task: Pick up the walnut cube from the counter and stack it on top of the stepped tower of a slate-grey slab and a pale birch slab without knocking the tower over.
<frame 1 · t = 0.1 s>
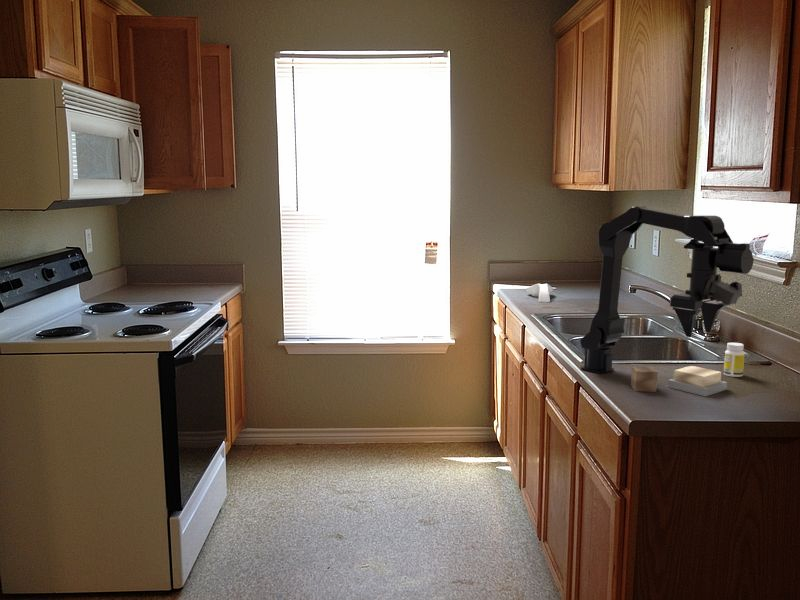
hand: (698, 334, 182), 15 cm above the worktop, fingers open, 9 cm apart
spoon rest: (541, 298, 328), on the worktop
birch top block: (696, 380, 189), point 2 cm above the worktop, touching grey base block
supplement bottle: (732, 375, 202), on the worktop
walnut cube: (643, 388, 188), on the worktop
grey base block: (696, 390, 189), on the worktop, touching birch top block
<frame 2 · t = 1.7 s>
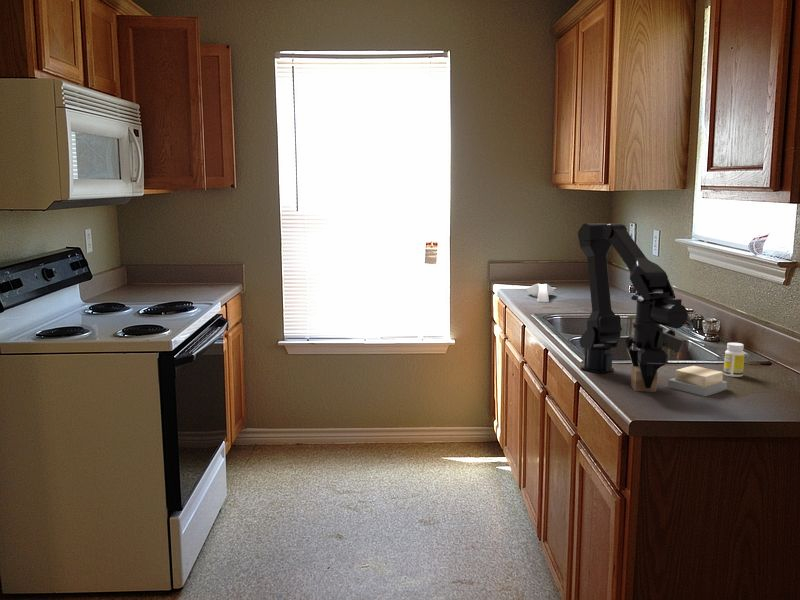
hand: (643, 383, 188), 1 cm above the worktop, fingers open, 9 cm apart
birch top block: (698, 380, 189), point 2 cm above the worktop
grey base block: (696, 390, 189), on the worktop
everything else where it was.
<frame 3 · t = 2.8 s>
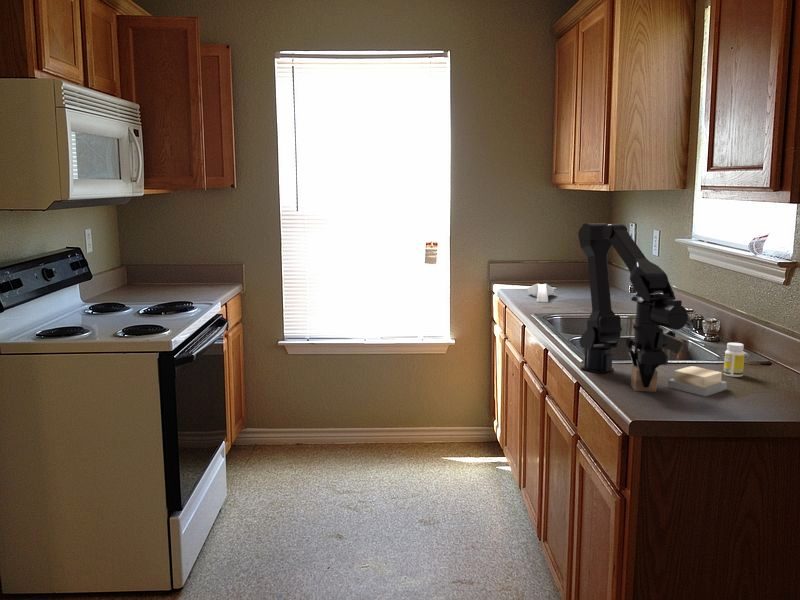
hand: (643, 384, 188), 1 cm above the worktop, fingers closed on walnut cube, 5 cm apart
birch top block: (697, 381, 188), point 2 cm above the worktop, touching grey base block
walnut cube: (643, 388, 188), on the worktop, touching gripper
grey base block: (696, 390, 189), on the worktop, touching birch top block
everything else where it was.
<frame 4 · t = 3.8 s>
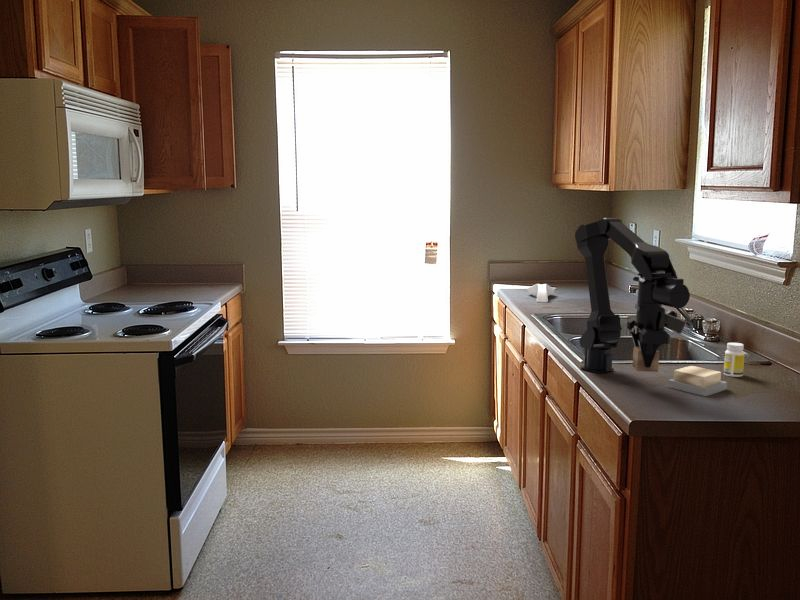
hand: (645, 364, 187), 6 cm above the worktop, fingers closed on walnut cube, 5 cm apart
walnut cube: (645, 368, 187), point 5 cm above the worktop, touching gripper
everything else where it was.
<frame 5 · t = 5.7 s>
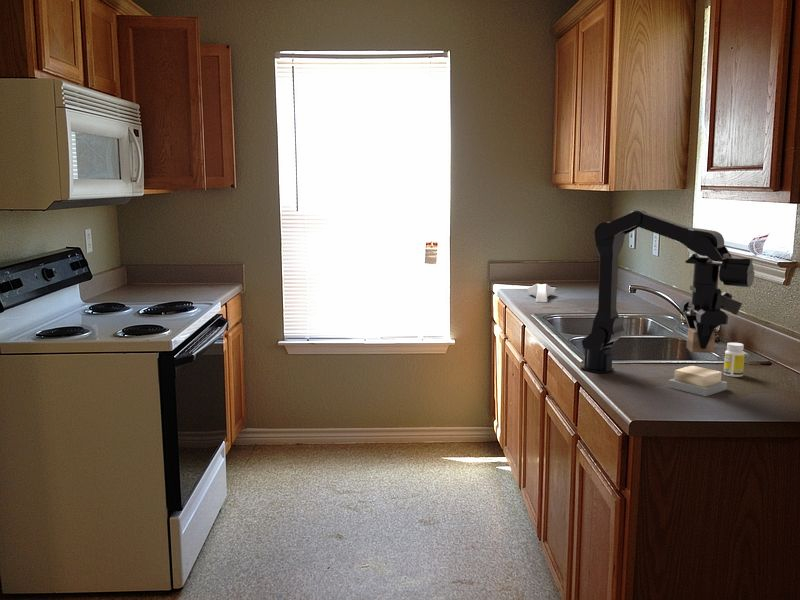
hand: (700, 346, 187), 11 cm above the worktop, fingers closed on walnut cube, 5 cm apart
walnut cube: (699, 350, 187), point 10 cm above the worktop, touching gripper
when the fingers open (7 cm above the worktop, at t = 6.8 s): walnut cube drops 2 cm, point 4 cm above the worktop.
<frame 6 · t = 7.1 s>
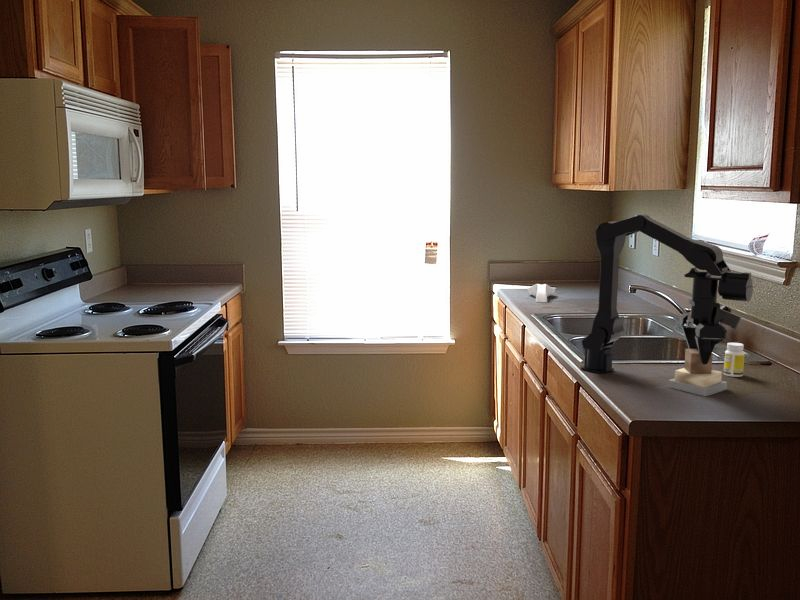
hand: (699, 359, 188), 7 cm above the worktop, fingers open, 9 cm apart
birch top block: (697, 381, 189), point 2 cm above the worktop
walnut cube: (697, 370, 188), point 4 cm above the worktop
grey base block: (696, 390, 189), on the worktop
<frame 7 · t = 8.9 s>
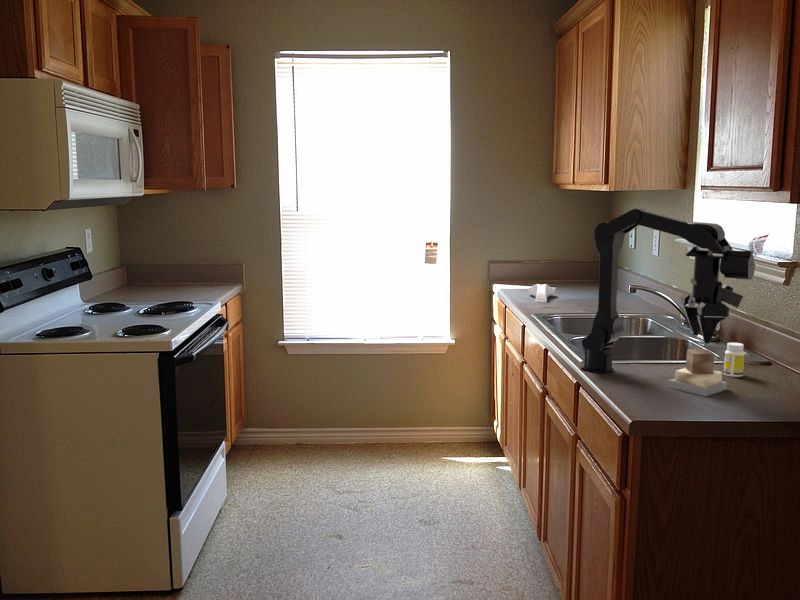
hand: (701, 339, 187), 12 cm above the worktop, fingers open, 9 cm apart
birch top block: (698, 381, 189), point 2 cm above the worktop, touching grey base block, walnut cube
walnut cube: (699, 371, 188), point 4 cm above the worktop, touching birch top block
grey base block: (696, 391, 189), on the worktop, touching birch top block
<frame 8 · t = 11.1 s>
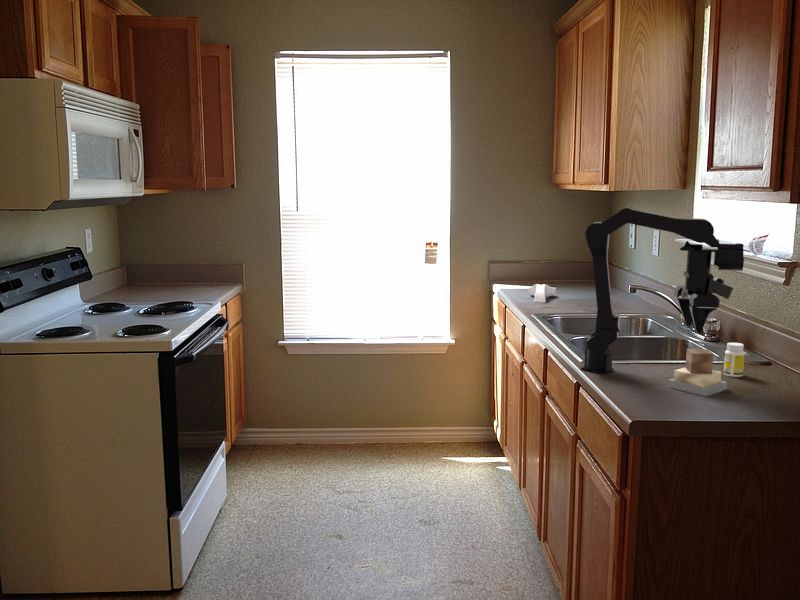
hand: (693, 329, 196), 13 cm above the worktop, fingers open, 9 cm apart
at the end: walnut cube 0.3 cm off-centre on the birch top block, point 2.5 cm above the birch top block's base; walnut cube tilted 0°; birch top block 0.3 cm off-centre on the grey base block, point 2.5 cm above the grey base block's base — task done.
